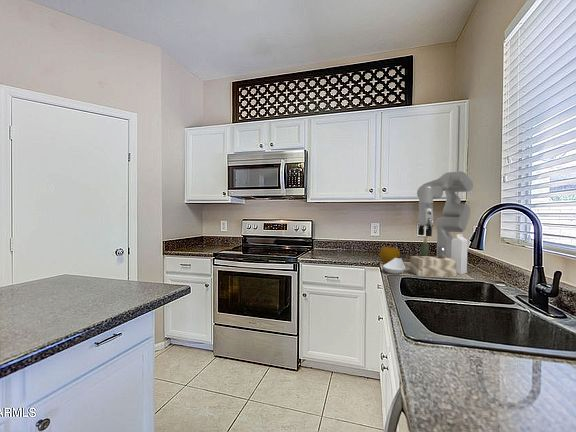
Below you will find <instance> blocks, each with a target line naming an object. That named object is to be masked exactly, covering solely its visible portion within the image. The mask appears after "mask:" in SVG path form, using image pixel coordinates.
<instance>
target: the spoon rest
mask: <svg viewBox="0 0 576 432" xmlns="http://www.w3.org/2000/svg"><path fill="white" fill-rule="evenodd" d="M382 268H383V269H384V271H385V272H386V273H387V274H393V275H399V274H402V273H403V272H404V271H406V270H405V269H406V265H405V264H404V261H403V258H400V257H399V258H394V259H393V260H391V261H390V262H388V263H386V264H384V263H383V265H382Z"/></svg>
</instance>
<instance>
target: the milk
mask: <svg viewBox="0 0 576 432" xmlns="http://www.w3.org/2000/svg"><path fill="white" fill-rule="evenodd" d="M468 242H469V240H468V239H466V238H465V237H464V235H463V233H458V234H456V237H453V239H452V243H451V258H452V259H455V260H456V274H458V273H460V274H459V275H464V274H467V273H468V249H469V248H468V245H469V243H468Z"/></svg>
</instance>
